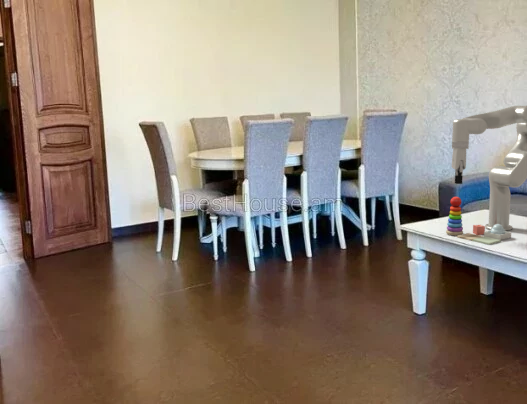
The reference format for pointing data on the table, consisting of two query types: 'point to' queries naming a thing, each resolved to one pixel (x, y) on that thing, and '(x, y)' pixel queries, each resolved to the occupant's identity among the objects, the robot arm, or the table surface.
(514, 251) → the table surface
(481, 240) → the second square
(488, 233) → the popper housing
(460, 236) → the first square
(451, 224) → the stacking toy
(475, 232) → the die
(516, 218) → the table surface
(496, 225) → the dome
